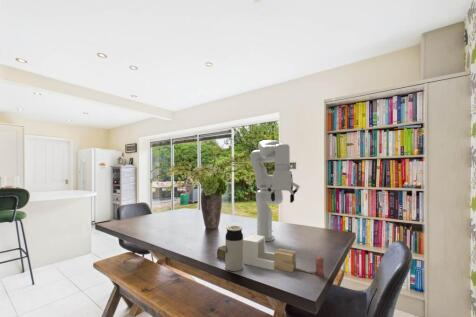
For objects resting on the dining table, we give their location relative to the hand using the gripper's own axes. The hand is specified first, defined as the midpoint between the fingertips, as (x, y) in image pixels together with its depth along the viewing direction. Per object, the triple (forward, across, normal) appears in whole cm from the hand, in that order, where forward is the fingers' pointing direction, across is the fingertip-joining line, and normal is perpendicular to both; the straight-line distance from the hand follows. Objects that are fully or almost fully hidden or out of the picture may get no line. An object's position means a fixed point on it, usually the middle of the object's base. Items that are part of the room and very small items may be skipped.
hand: (282, 201), depth 115 cm
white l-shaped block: (+28, +6, +10) cm, 31 cm away
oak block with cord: (+28, -11, +10) cm, 32 cm away
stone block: (+29, +24, +13) cm, 40 cm away
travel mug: (+28, +16, +22) cm, 39 cm away
